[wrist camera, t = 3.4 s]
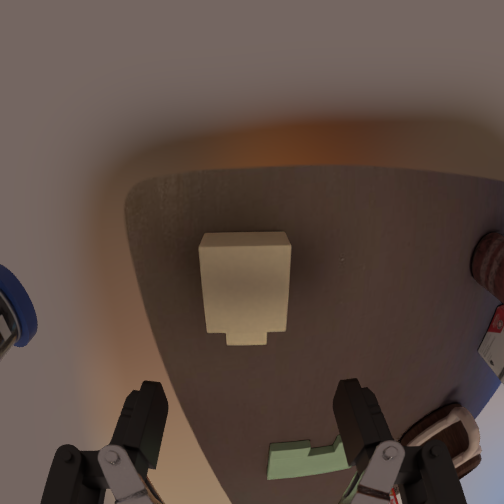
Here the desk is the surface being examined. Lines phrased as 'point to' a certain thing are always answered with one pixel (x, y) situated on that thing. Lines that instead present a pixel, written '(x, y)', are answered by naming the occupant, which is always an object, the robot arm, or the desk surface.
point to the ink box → (495, 344)
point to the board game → (393, 497)
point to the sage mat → (304, 459)
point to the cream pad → (245, 284)
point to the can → (490, 264)
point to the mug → (450, 436)
